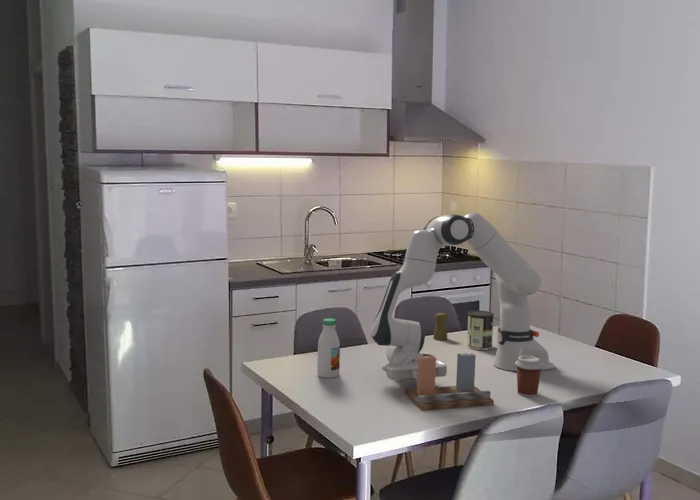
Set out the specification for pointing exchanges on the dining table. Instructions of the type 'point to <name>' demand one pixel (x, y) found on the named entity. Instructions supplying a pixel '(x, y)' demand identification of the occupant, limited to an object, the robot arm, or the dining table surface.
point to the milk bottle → (328, 350)
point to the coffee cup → (528, 375)
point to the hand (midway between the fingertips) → (424, 377)
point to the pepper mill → (440, 327)
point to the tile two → (465, 372)
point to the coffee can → (480, 330)
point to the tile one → (426, 375)
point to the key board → (450, 398)
